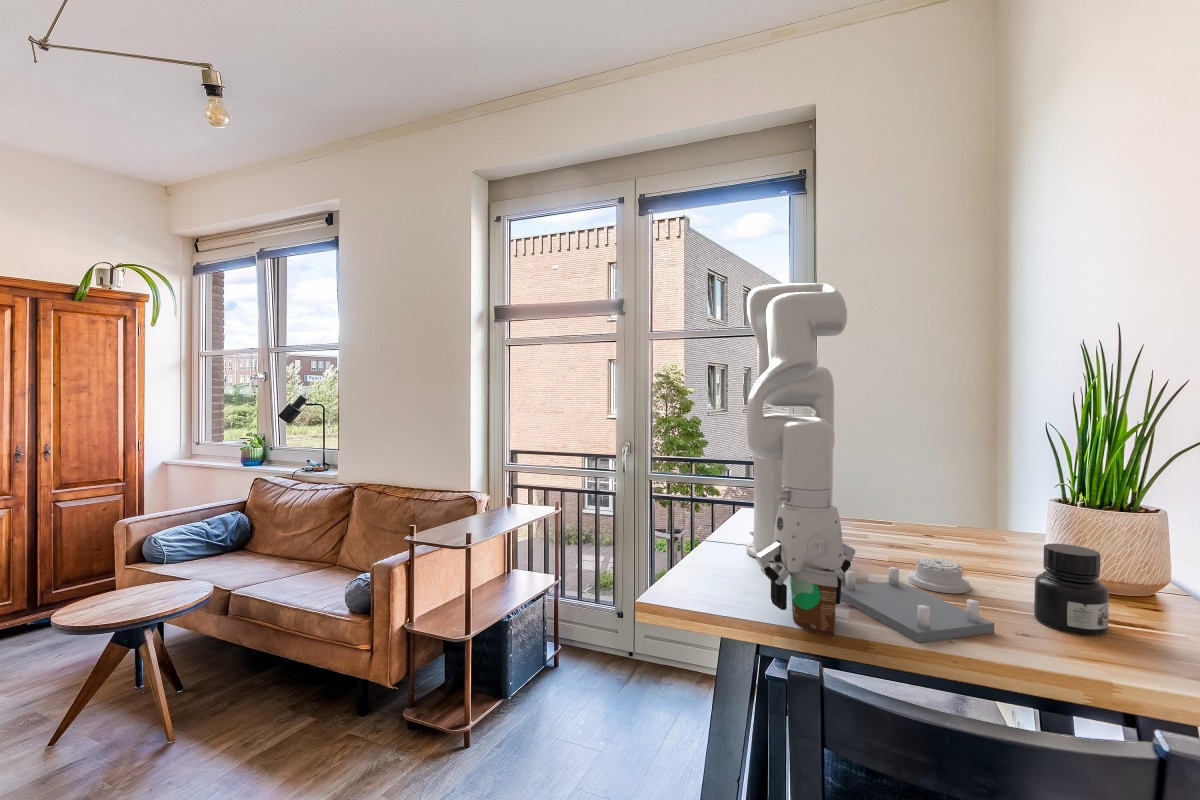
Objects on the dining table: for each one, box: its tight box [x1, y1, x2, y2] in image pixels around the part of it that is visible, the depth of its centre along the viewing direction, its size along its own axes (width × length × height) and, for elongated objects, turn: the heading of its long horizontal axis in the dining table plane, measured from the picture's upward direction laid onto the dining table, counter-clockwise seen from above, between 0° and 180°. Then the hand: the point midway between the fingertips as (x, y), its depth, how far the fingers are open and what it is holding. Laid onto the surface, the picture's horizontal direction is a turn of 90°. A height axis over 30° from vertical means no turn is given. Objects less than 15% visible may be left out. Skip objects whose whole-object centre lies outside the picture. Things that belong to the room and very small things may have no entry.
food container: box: [789, 566, 838, 637], centre depth 87 cm, size 12×6×10 cm, turn 172°
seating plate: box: [840, 566, 995, 644], centre depth 91 cm, size 19×14×4 cm
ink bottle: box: [1033, 543, 1110, 636], centre depth 86 cm, size 10×9×12 cm
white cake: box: [907, 557, 971, 594], centre depth 104 cm, size 10×4×10 cm
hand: (806, 603), depth 87 cm, fingers open, 9 cm apart
